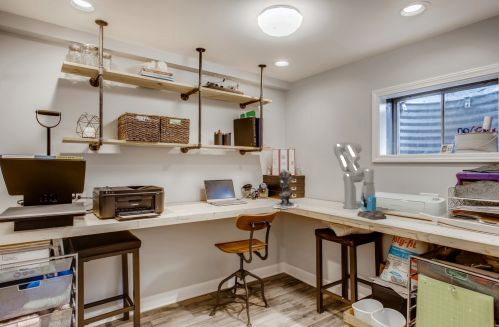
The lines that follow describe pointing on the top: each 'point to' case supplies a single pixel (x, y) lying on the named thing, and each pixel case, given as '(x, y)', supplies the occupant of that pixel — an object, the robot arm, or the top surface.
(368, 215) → the display riser
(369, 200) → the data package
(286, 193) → the dark grey statue
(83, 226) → the top surface
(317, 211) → the top surface
